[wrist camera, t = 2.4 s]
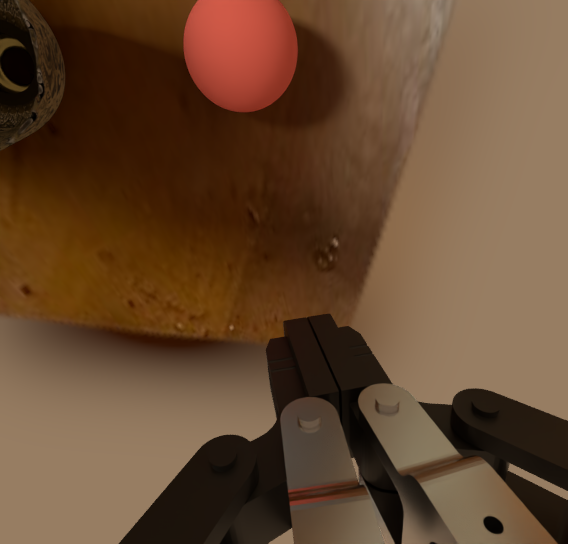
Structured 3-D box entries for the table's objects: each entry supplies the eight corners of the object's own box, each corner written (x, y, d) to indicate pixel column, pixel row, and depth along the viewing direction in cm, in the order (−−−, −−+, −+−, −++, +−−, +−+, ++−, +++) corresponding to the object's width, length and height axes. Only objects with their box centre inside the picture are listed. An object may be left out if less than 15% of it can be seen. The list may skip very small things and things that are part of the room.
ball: (223, 129, 23) (226, 137, 18) (165, 33, 20) (150, 11, 15) (303, 79, 22) (330, 71, 17) (254, -25, 20) (269, -67, 15)
